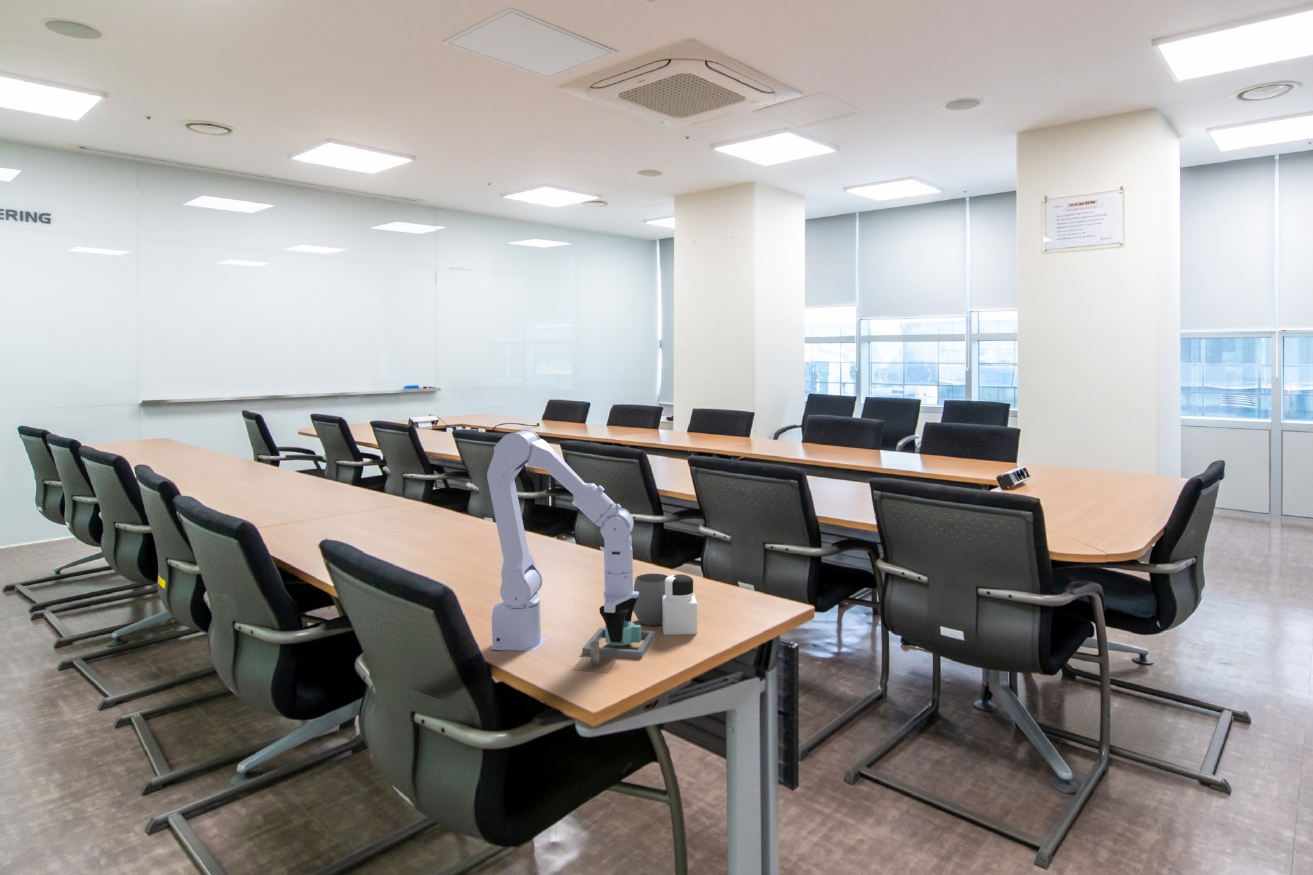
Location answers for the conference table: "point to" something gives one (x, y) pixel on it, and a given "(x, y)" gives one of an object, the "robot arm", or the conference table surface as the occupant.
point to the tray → (620, 652)
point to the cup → (649, 598)
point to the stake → (595, 661)
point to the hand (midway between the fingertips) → (619, 636)
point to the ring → (626, 634)
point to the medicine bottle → (679, 606)
